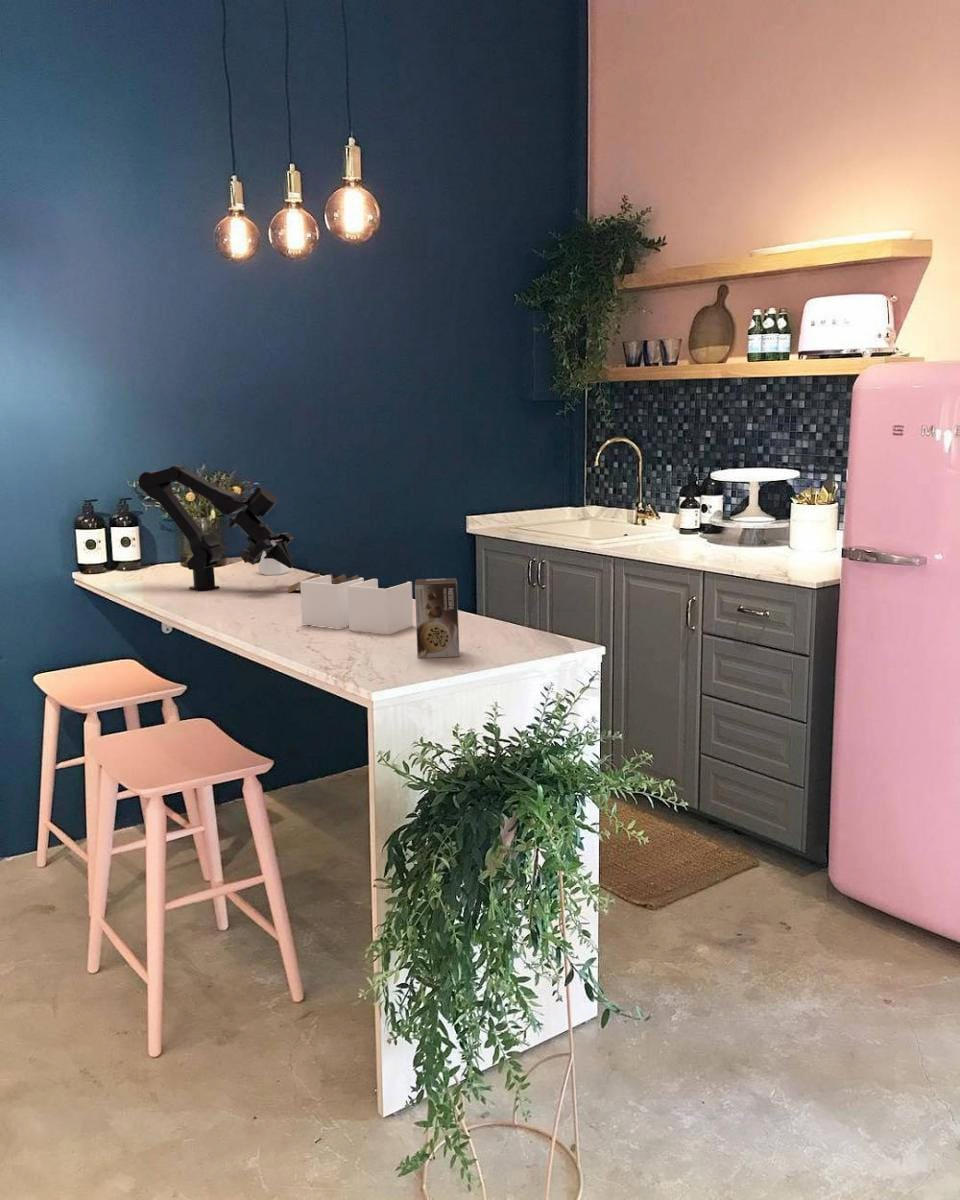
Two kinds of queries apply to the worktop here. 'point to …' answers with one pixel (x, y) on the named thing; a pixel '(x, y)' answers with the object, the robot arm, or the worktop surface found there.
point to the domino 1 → (297, 585)
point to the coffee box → (437, 618)
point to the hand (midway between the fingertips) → (291, 567)
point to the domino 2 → (338, 579)
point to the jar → (271, 566)
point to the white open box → (356, 605)
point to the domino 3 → (350, 579)
